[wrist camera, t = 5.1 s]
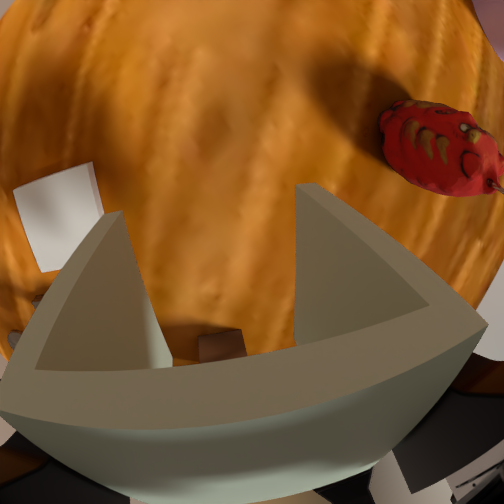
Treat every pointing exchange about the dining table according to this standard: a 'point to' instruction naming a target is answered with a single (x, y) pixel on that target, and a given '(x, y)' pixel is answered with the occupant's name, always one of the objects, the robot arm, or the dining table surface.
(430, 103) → the red clay folk toy
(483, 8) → the clip
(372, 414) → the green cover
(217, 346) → the walnut block
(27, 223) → the grey ceramic tile
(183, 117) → the dining table surface
